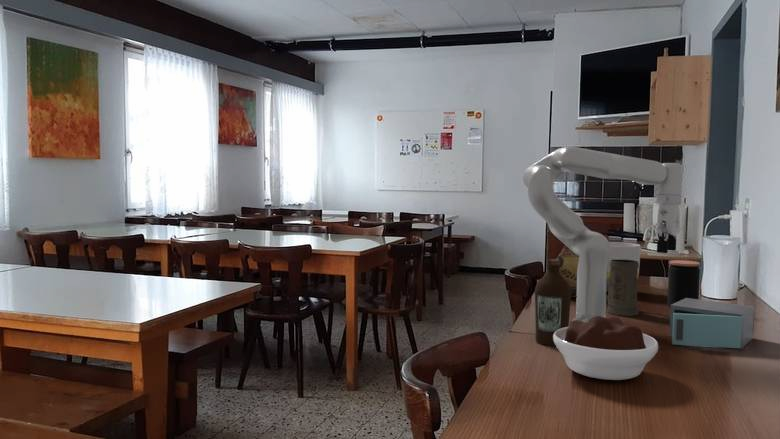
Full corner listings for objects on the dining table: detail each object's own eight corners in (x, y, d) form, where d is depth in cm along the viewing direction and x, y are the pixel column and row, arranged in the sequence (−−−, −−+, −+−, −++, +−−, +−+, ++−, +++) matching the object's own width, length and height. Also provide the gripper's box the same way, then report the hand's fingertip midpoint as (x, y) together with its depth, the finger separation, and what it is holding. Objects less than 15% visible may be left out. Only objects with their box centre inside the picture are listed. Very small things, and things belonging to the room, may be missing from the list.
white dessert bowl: (575, 354, 170) (576, 301, 169) (669, 372, 155) (671, 314, 154) (535, 375, 151) (536, 316, 150) (638, 399, 135) (641, 333, 134)
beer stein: (632, 317, 216) (636, 261, 216) (602, 313, 222) (605, 259, 222) (644, 313, 228) (647, 260, 228) (615, 309, 235) (618, 258, 234)
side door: (745, 349, 175) (746, 317, 174) (673, 345, 179) (674, 314, 178) (742, 347, 177) (744, 316, 176) (672, 343, 181) (673, 313, 180)
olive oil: (538, 335, 190) (540, 256, 189) (573, 340, 185) (575, 259, 183) (529, 343, 181) (531, 260, 179) (565, 348, 176) (567, 263, 174)
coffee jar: (691, 305, 238) (693, 260, 237) (702, 311, 227) (704, 264, 226) (663, 305, 239) (665, 259, 238) (673, 311, 228) (675, 263, 227)
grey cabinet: (740, 348, 177) (742, 314, 177) (669, 336, 191) (670, 304, 190) (753, 338, 189) (754, 306, 189) (684, 327, 203) (686, 297, 202)
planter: (591, 295, 258) (593, 245, 257) (590, 287, 277) (592, 241, 275) (641, 298, 253) (642, 247, 251) (636, 290, 271) (638, 242, 270)
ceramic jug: (588, 300, 247) (590, 227, 245) (549, 298, 250) (551, 226, 248) (583, 292, 264) (585, 224, 262) (547, 291, 267) (549, 223, 265)
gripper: (673, 201, 192) (671, 254, 193) (687, 200, 205) (685, 250, 206) (648, 200, 196) (646, 252, 198) (664, 199, 210) (662, 248, 211)
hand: (666, 251), depth 202 cm, fingers open, 9 cm apart
